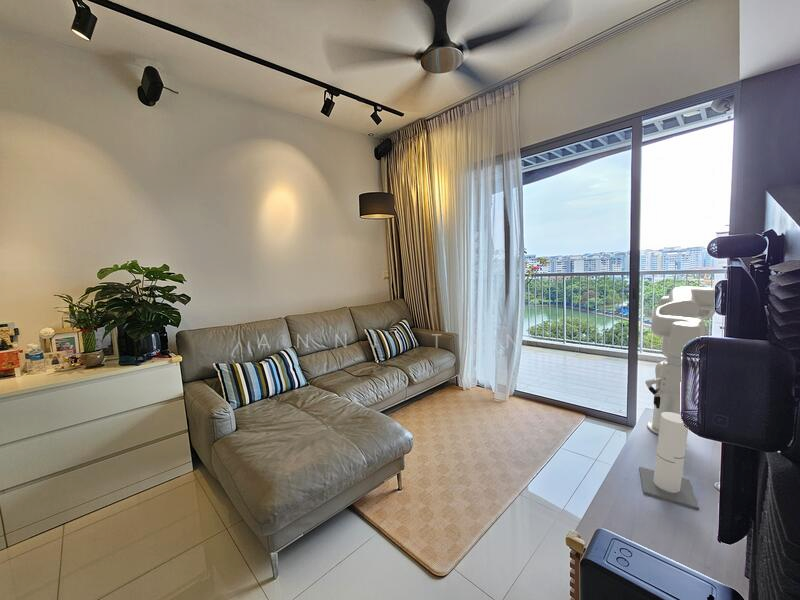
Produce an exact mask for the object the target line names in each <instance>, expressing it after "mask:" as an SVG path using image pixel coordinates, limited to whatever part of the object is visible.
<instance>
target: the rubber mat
mask: <svg viewBox="0 0 800 600" xmlns="http://www.w3.org/2000/svg"><path fill="white" fill-rule="evenodd" d="M638 469H639V475H640V481H641V487H642V488H643V489H642V494H644V493H645V494H644V495H647V494H648V495H647V496H651V495H652V496H651V497H654V498H658V499H661V500H664V501H668V502H670V503H675V504H677V505H681V506H685V507H687V508H692V509H695V510H699V509H700V507H699V504H698V501H697V498H696V496H695V493H694V490H693V487H692V484H691V481H690V479H688V478H684V477H682V480H681V488H680V491H679V492H677V493H672V492H668V491H665V490H663V489H661V488H659V487H658V486H656V485H655V483H654V481H653V480H654V471H655V469H651V468H645V467H642V466H639V468H638Z"/></svg>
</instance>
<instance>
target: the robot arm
mask: <svg viewBox="0 0 800 600" xmlns="http://www.w3.org/2000/svg"><path fill="white" fill-rule="evenodd" d="M715 290H716V289H715V288H713V287H704V286H703V287H702V286H677V287H674V288H672V289H671V290H670V291H669V293H668V295H665V296H662V297H660V299H658V307H657V308H656V309H655V310H654V311H653V314H652V318H651V327H650V328H651V333H652V334H653V335H654V336H656V337H659V338H662V342H661V352H662V353H661V354H662V355H663V356H664V357H666V360H662V361H659V362H658V363H656V365H655V368H654V369H655V370H654V371H655V378H652V379H646V380H645V384H646V387H647V388H648V390H649V392H650V393H652V394H653V410H652V419H651V421H650V420H649V421H648V422H647V423H646V425H647V428H648V429H649V431H651V432H652V433H654V434H655V435H658V436H659V427H660V419H661V413H663V412H672V413H677V414H680V382H681V351H682V348H683V346H684V345H685V344H686V343H687V342H688V341H689V340H691V339H694V338H696V337H700V336H707V335H708V332H709V331H708V330H709V328H708V325H707V323H706V322H705V319H711V318H713V317H714V315H715V314H716V311H715V310H714V298H715ZM703 319H704V320H703ZM652 385H655V387H653V386H652Z"/></svg>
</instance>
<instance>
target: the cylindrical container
mask: <svg viewBox="0 0 800 600" xmlns="http://www.w3.org/2000/svg"><path fill="white" fill-rule="evenodd" d="M688 433H689V428H688V429H687V428H686V427H685V426H684V424H683V421H682V419H681V416H680V414H677V413H672V412H663V413H661V419H660V427H659V435H658V438H657V447H656V453H655V455H656V456H655V464H654V480H653V481H654V483H655V485H656V486H658V487H659V488H661V489H663V490H665V491H668V492H672V493H677V492H679V491H680V488H681V480H682V478H683V471H684V463H685V457H686V450H687V449H686V447H687V441H688Z"/></svg>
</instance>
